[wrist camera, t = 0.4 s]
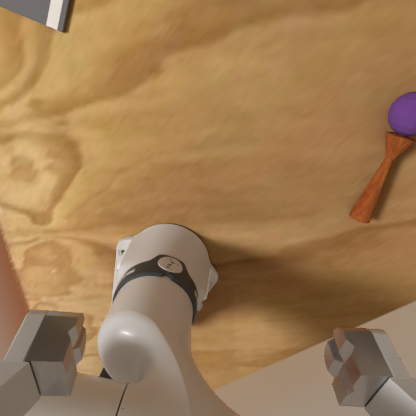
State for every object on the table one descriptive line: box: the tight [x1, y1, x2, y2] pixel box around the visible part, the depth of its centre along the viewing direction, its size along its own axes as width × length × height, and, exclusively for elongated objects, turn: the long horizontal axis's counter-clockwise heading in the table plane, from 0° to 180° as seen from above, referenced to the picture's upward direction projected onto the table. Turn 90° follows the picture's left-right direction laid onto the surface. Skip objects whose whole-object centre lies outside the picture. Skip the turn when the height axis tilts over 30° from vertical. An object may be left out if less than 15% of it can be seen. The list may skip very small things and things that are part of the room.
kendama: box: [349, 92, 416, 223], centre depth 50 cm, size 6×6×20 cm
